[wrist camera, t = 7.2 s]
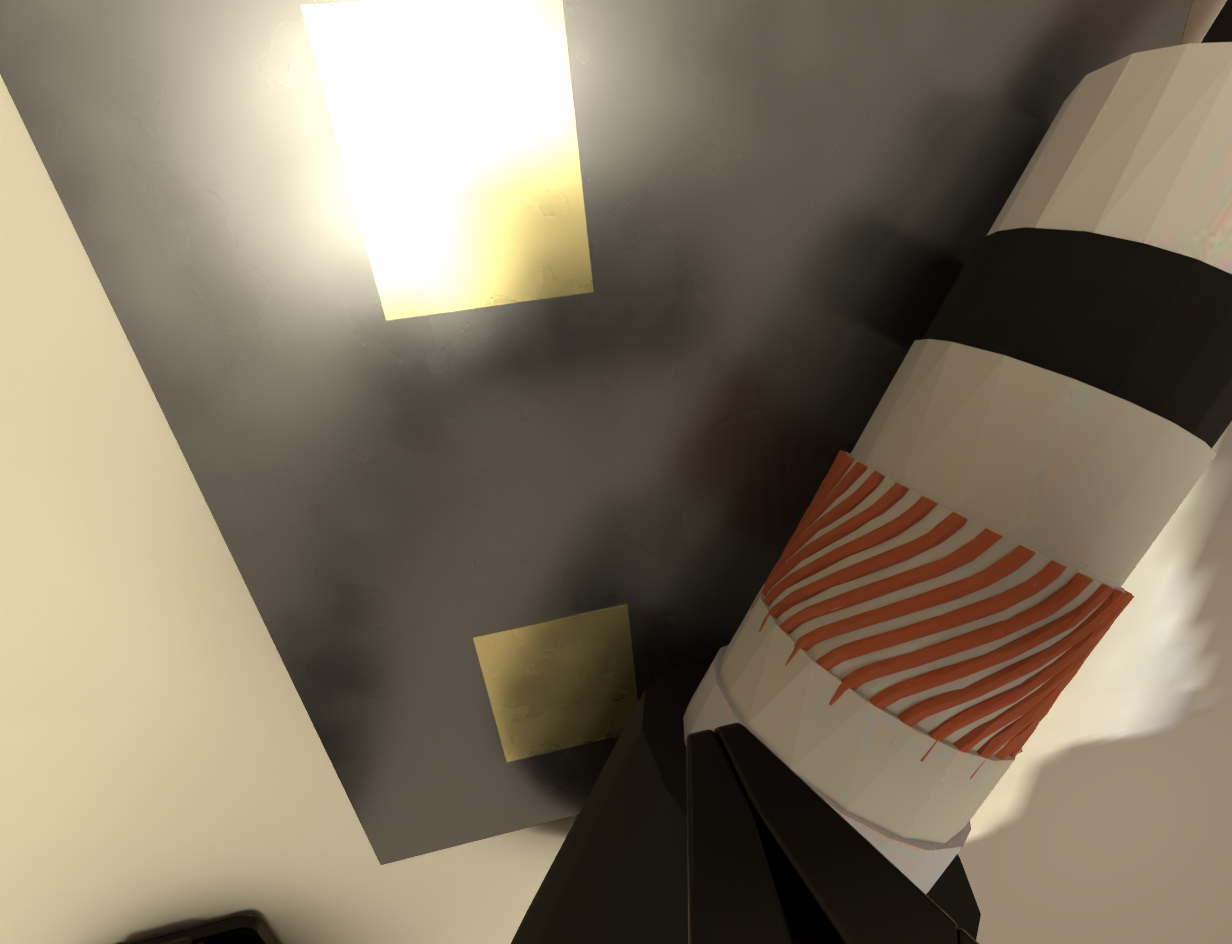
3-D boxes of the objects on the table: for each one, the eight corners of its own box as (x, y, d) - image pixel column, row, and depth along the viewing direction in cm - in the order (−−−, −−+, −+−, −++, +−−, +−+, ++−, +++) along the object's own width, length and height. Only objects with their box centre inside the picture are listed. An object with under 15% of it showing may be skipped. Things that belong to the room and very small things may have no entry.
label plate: (988, 707, 26) (991, 709, 26) (381, 862, 23) (380, 866, 23) (1274, -304, 12) (1282, -309, 12) (-177, -302, 9) (-185, -309, 9)
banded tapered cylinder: (1109, 32, 19) (1670, 29, 12) (644, 836, 27) (841, 1091, 20) (1081, -325, 11) (2454, -794, 5) (444, 940, 19) (657, 1398, 13)
